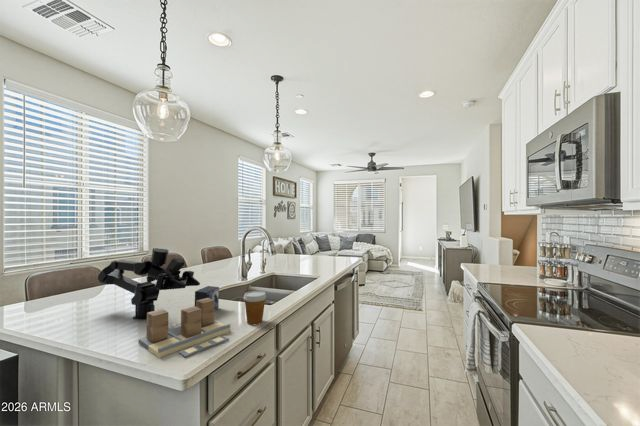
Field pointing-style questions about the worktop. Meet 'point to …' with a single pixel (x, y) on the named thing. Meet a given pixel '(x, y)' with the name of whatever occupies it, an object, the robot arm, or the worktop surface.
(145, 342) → the board
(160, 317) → the slider
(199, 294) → the small box
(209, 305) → the slider
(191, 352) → the card
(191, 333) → the middle slider
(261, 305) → the disposable coffee cup
